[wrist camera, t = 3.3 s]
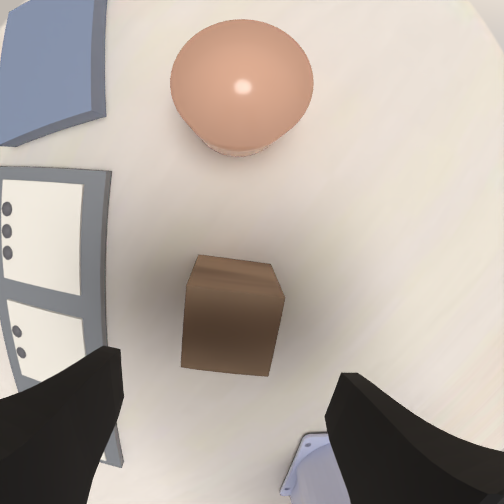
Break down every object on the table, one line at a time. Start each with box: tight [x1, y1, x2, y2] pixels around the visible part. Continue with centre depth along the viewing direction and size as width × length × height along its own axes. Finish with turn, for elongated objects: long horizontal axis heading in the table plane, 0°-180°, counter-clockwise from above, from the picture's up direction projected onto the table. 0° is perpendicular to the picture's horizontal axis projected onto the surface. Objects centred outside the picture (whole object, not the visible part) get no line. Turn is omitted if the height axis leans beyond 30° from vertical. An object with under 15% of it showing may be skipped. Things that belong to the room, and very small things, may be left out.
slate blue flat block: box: [0, 0, 107, 147], centre depth 13 cm, size 10×7×2 cm
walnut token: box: [181, 255, 285, 376], centre depth 15 cm, size 4×4×5 cm
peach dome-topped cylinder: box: [170, 19, 313, 157], centre depth 12 cm, size 5×5×6 cm
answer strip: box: [0, 166, 124, 468], centre depth 17 cm, size 24×9×1 cm, turn 171°
